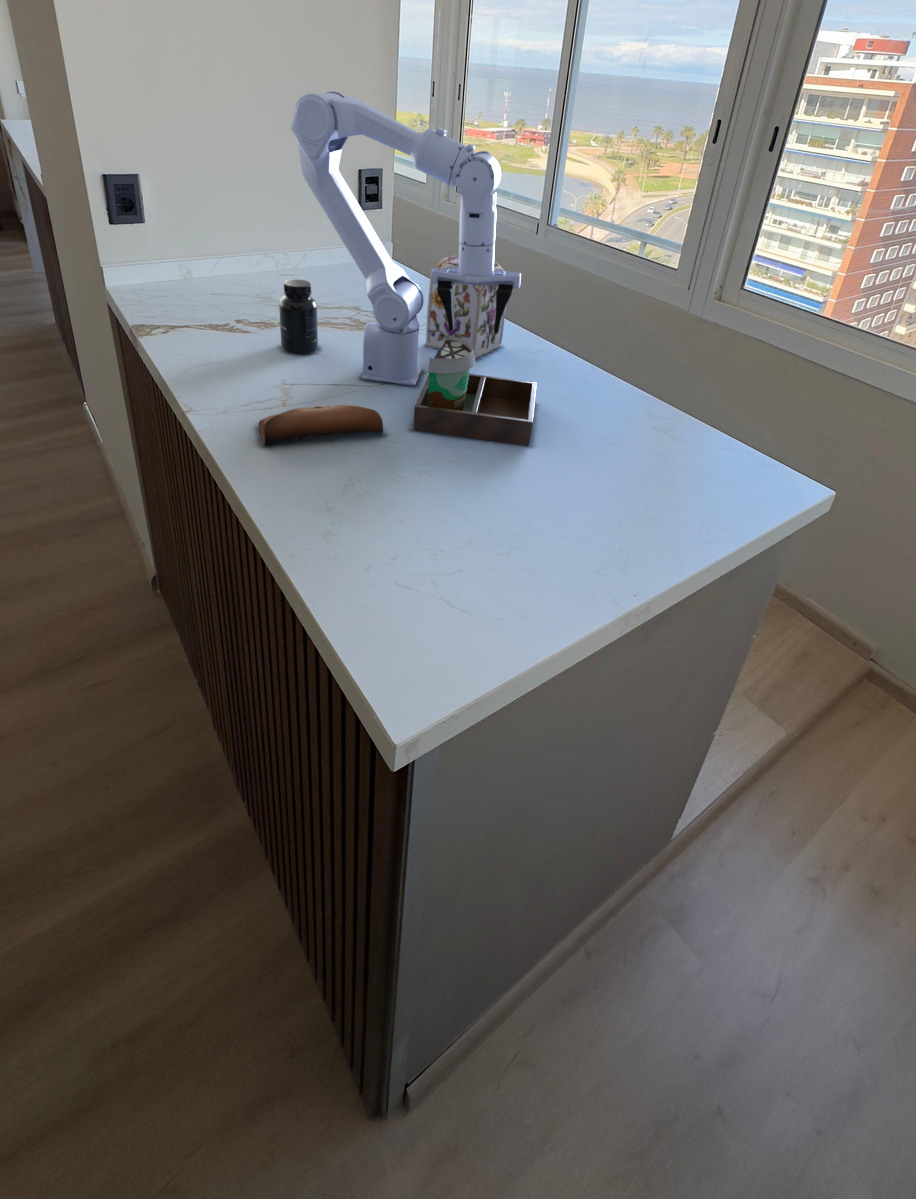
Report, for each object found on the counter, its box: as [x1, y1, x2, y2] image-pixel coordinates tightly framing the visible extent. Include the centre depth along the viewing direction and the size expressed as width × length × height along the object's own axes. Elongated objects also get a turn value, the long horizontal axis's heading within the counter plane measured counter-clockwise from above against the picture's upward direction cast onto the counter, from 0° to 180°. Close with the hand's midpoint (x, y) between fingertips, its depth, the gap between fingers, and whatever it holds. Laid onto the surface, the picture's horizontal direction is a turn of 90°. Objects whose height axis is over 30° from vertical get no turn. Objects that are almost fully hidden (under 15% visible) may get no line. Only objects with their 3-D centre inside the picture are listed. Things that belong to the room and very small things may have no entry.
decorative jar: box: [425, 255, 507, 360], centre depth 141 cm, size 12×12×18 cm
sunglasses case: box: [258, 404, 384, 445], centre depth 110 cm, size 18×7×7 cm
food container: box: [427, 335, 476, 411], centre depth 117 cm, size 12×6×10 cm, turn 168°
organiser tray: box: [413, 373, 537, 447], centre depth 120 cm, size 18×17×4 cm
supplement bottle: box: [278, 278, 319, 355], centre depth 134 cm, size 7×7×12 cm
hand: (474, 329), depth 123 cm, fingers open, 7 cm apart
